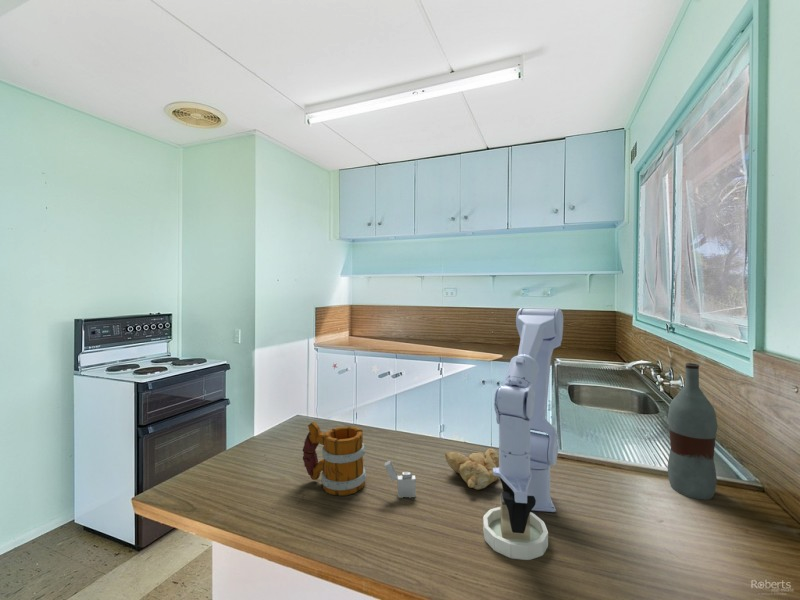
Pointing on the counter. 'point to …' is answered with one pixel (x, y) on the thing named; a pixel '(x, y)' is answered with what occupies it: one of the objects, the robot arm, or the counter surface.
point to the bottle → (692, 440)
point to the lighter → (402, 481)
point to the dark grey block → (506, 526)
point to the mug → (336, 459)
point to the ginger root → (475, 467)
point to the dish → (513, 546)
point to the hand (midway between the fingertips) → (514, 518)
